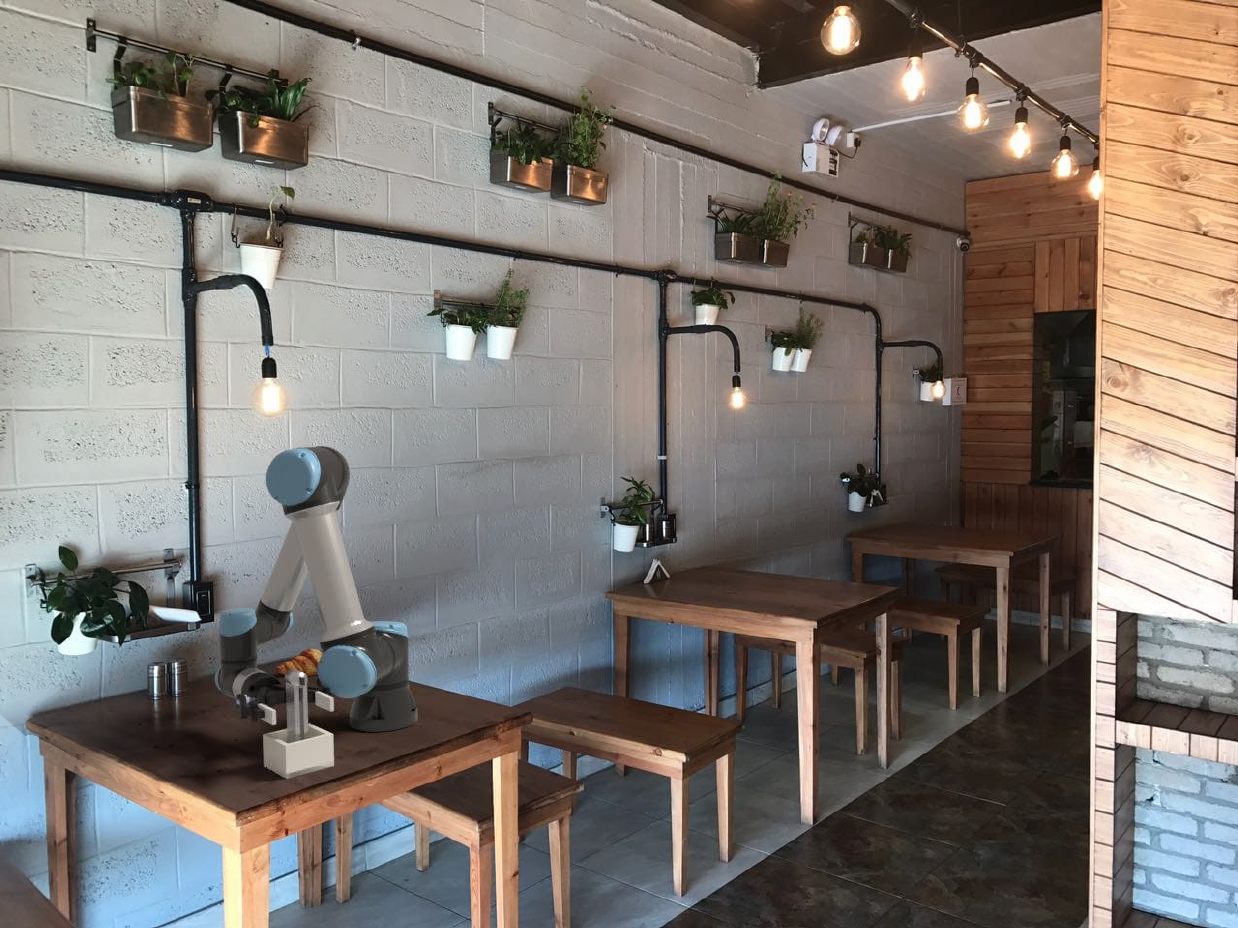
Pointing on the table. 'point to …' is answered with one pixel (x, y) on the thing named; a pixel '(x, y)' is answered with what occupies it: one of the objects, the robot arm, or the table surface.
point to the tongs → (296, 706)
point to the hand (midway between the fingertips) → (303, 710)
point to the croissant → (303, 663)
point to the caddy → (298, 752)
